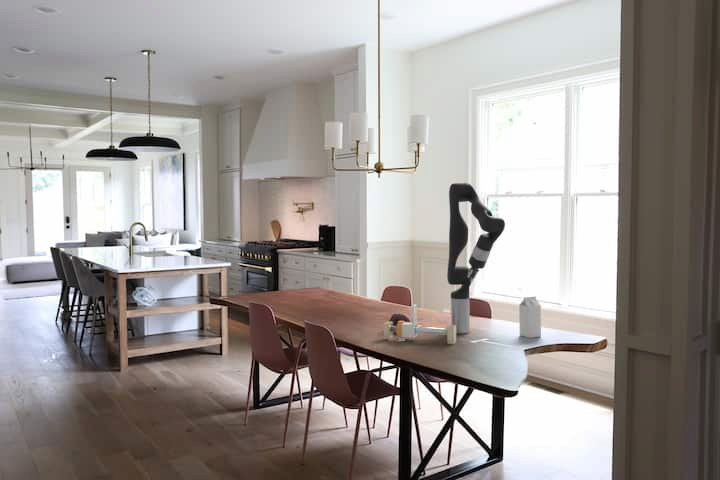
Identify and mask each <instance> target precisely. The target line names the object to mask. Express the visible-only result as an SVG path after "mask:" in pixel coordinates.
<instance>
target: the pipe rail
mask: <svg viewBox="0 0 720 480" xmlns="http://www.w3.org/2000/svg"><path fill="white" fill-rule="evenodd" d="M396 328H397V326H393V322H389V320H388V321H385V322H384V323H383V339H384V338H386V339H390V338H392V337H393V338H394V333H396ZM415 333H418V335H419V334H421V335H422V334H423V335H438V336H447V337H446V338H447V339H446V340H447V344H448V345H455V344H456V343H457V333H456V325H451V324H449V325H448V326H446V328H444V327H442V328H440V327H426V326H425V327H423V326H422V327H421V326H418V327H415ZM393 338H392V339H393Z"/></svg>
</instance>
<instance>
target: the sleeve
mask: <svg viewBox="0 0 720 480" xmlns="http://www.w3.org/2000/svg"><path fill="white" fill-rule="evenodd" d="M415 327H419V325H418V305H417V303H415V304H413V305H411V321H410V322H405V323H403V324H402V337H409V339H410V338H411V339H414V338H417V336H419V334H418V333H415Z"/></svg>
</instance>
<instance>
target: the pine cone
mask: <svg viewBox="0 0 720 480" xmlns="http://www.w3.org/2000/svg"><path fill="white" fill-rule="evenodd" d="M398 321H404V322H411V320H410V318H408V316H406V315H405V314H402V313H401V314H400V313H398V314H397V313H394V314H390V319H389V320H388V322H393V326H397V324H398Z"/></svg>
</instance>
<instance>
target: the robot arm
mask: <svg viewBox="0 0 720 480" xmlns="http://www.w3.org/2000/svg"><path fill="white" fill-rule="evenodd" d="M448 197H449V198H448V199H449V200H448V201H449V202H448V203H449V232H448V233H449V235H448V239H449V240H448V248H449V249H448V264H447V275H446V276H447V282H448V284H449V285H451V286H452V285H453V286H454V285H455V286H456V285H459V286H460V285H461V286H460V287H459V288H458V289H455V290H453V291H451V293H450V325H456V334H469V333H471V332H470V331H471V330H470V329H471V325H470V324H471V322H470V321H471V319H470V315H471V314H470V313H471V312H470V288H471V285H472V283H473V281H474V279H476V277H477V275H478V274H479V272H480V270H481V269H482V270H483V269H484V268H485V267H486V264H487V262H488V260H489V256H490V255H491V250H492V249H493V247H494V243H496V241H497V240H498V239H499V237H500V236H501V235H502V233H503V232H504V230H505V227H506V223H505V220H504V219H503V218H502V217H497V216H493V212H492V211H491V209H489V207H488V206H487V205H486V204H485V203H484V202H483V201H482V199H481V198H480V196H479V195H478V193H477V191H476V189H475V188H474V186H473V185H472V184H471V183H469V182H456V183H455V182H454V183H451V184H450V187H449V191H448ZM465 202H468V203H470V204H471V205H470V212H471V214H472V215H473V217H474V218H475V219H476V220H477V222H478V223H479V226H480V229H481V230H482V231H484V232H485V233H482V234H480V235H479V237H478V239H477V241H476V243H475V246H474V248H473V250H472V251H471V254H470V257H469V259H468V264H469V265H470V266H469V267H468V266H466V265H463V266H460V265H459V266H458V265H457V262H458V258H459V256H460V254H461V253H462V252H463V250H464V249H465V247H466V246H467V244H468V242H469V227H468V225H467V223H466V221H465V220H464V217H463V216H462V214H461V211H460V203H465Z"/></svg>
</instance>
